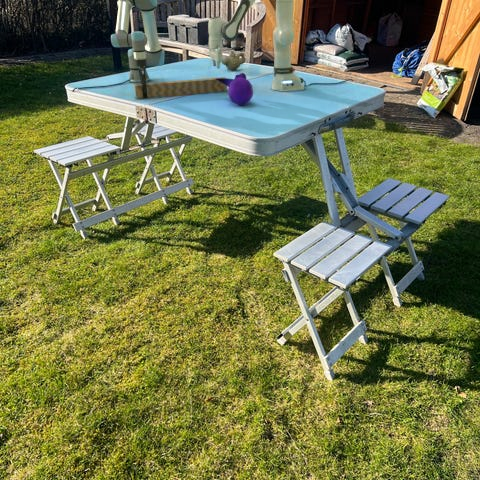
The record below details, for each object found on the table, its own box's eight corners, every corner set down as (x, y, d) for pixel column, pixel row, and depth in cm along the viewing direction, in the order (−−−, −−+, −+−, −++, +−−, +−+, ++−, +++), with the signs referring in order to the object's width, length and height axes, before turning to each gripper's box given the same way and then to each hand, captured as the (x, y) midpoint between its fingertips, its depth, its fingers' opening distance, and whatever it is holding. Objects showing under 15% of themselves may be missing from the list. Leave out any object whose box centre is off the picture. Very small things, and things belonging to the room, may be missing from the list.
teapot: (225, 72, 363) (224, 52, 355) (218, 70, 371) (218, 50, 364) (248, 69, 372) (247, 50, 364) (241, 67, 381) (240, 48, 373)
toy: (238, 95, 290) (253, 110, 269) (212, 91, 282) (225, 106, 262) (244, 71, 282) (260, 84, 261) (218, 65, 274) (232, 78, 254)
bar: (136, 99, 288) (134, 85, 284) (135, 97, 293) (134, 84, 289) (227, 91, 303) (226, 78, 299) (224, 89, 308) (224, 77, 304)
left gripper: (148, 60, 273) (152, 99, 285) (144, 56, 289) (148, 93, 300) (135, 61, 271) (140, 100, 283) (132, 57, 287) (137, 94, 299)
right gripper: (224, 46, 282) (225, 69, 289) (216, 42, 299) (217, 64, 306) (215, 46, 280) (215, 70, 287) (207, 43, 297) (208, 65, 304)
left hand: (144, 96), depth 292 cm, fingers closed on bar, 6 cm apart
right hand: (216, 67), depth 296 cm, fingers open, 8 cm apart
